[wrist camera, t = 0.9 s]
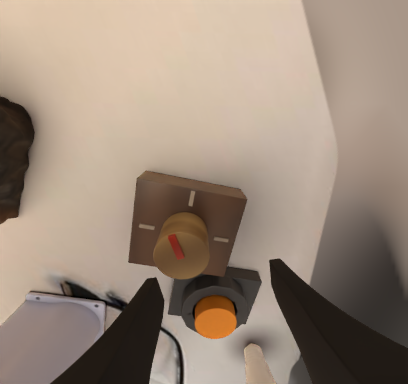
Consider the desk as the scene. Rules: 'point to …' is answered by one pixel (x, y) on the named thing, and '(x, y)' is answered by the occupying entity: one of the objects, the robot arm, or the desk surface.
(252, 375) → the lightbulb
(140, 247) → the dimmer console
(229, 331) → the power button
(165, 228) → the dimmer knob
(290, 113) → the desk surface
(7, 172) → the owl
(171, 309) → the switch block
